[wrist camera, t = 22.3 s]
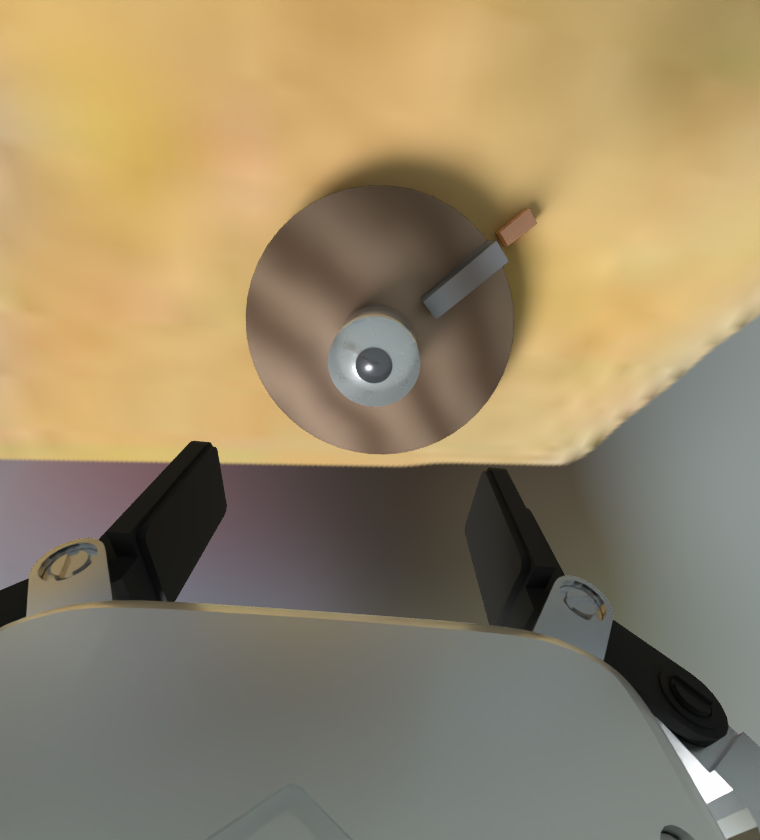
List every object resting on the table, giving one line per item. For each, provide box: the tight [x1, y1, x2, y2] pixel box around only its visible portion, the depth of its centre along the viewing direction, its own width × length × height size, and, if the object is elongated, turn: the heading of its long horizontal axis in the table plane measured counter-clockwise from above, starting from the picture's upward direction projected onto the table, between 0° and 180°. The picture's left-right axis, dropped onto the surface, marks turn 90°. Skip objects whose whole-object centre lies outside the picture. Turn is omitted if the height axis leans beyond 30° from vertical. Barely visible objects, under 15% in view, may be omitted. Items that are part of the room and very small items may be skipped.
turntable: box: [246, 186, 514, 454], centre depth 28 cm, size 22×22×4 cm
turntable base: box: [496, 208, 537, 246], centre depth 28 cm, size 16×16×1 cm
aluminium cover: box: [328, 304, 420, 407], centre depth 25 cm, size 6×6×5 cm
